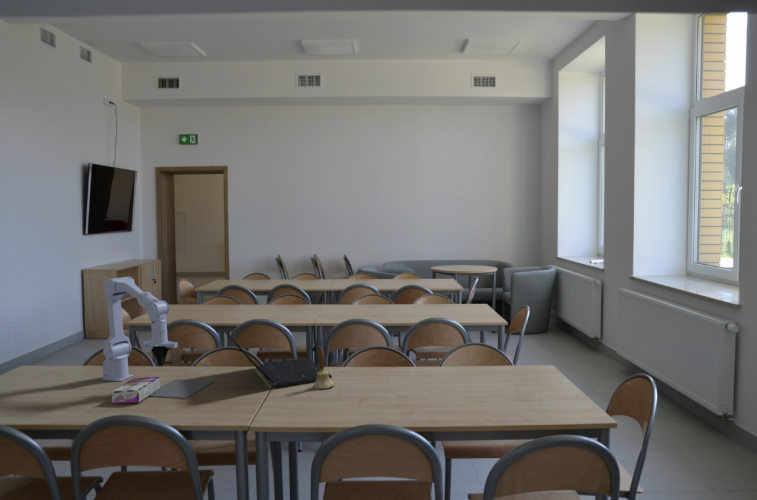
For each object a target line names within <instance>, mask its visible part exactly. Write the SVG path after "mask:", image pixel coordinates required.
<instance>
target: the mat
mask: <svg viewBox="0 0 757 500" xmlns="http://www.w3.org/2000/svg"><path fill="white" fill-rule="evenodd" d="M213 383H215V380H203V379H200V380H199V379H184V378H183V379H182V378H175V379H173V380H171V381H168V382H167V383H165V384H164V385H161V388H160V389H158V390H157V391H155V392H154V393H152V394H151V395H149V396H148V397H150V398H169V399H180V400H181V399H182V400H186V399H188V398H190V397H191V396H193V395H196V393H198V392H200V391H201V390H203V389H204V388H206V387H208V386H210V385H212V384H213Z"/></svg>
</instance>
